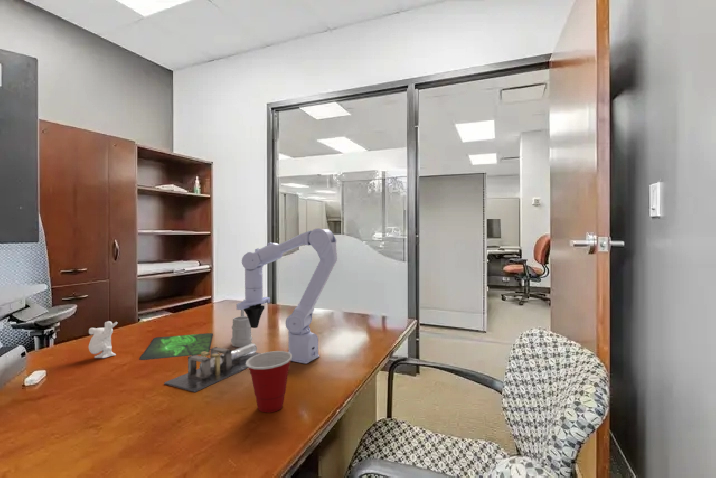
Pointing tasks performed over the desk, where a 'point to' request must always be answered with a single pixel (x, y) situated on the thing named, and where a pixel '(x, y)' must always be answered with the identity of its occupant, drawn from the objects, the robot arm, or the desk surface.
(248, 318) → the robot arm
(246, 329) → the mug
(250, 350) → the tube
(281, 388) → the plastic cup
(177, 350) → the mouse mat
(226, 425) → the desk surface
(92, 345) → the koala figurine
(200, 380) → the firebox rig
